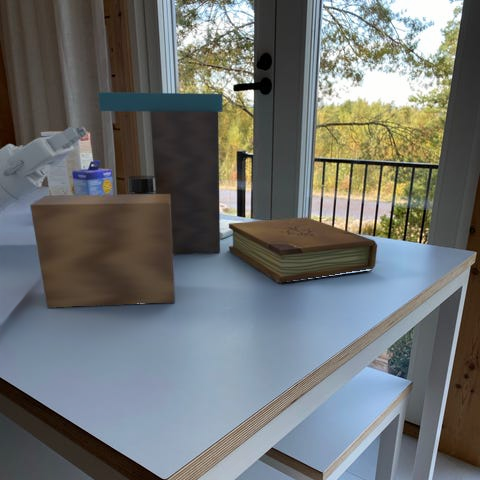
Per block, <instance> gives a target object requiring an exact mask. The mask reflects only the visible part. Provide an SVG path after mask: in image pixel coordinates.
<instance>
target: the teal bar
mask: <svg viewBox="0 0 480 480" xmlns="http://www.w3.org/2000/svg"><path fill="white" fill-rule="evenodd" d="M97 95H98V102H99V103H98V105H99V111H100V112H151V111H197V112H218V113H222V112H223V111H224V110H223V109H224V106H223V105H224V103H223V102H224V100H223V99H224V97H223V95H224V94H223V93H193V92H191V93H188V92H185V93H184V92H180V93H179V92H113V91H111V92H109V91H106V92H105V91H103V92H102V91H100V92H97Z"/></svg>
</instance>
